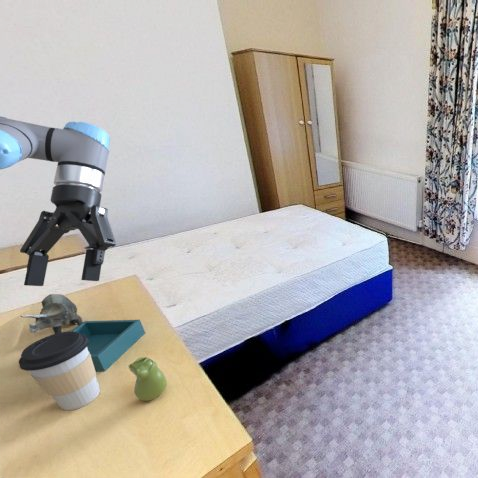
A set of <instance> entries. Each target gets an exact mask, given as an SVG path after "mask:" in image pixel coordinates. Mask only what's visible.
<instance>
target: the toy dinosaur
mask: <svg viewBox="0 0 478 478" xmlns="http://www.w3.org/2000/svg"><path fill="white" fill-rule="evenodd" d="M41 306H42V308H41V309H40V312H39V314H25V315H20V317H21V318H30V319H35V322H32V323H31V322H30V323H28V326H29V332H30V333H31V334H36V333H39V332H40V331H42V330H44V329H51V328H52V331H53V333H54V334H57V333H61V332H63V331H62V326H66V325H67V324H70V325H77V327H78V326H79V325H80V324H82V323H83V322H84V321H83V319H82V317H81V316H80V315H79V314H78V307H77V305H76V304H75V303H74V302H73V301H72V300H70V299H69V298H68V297H67V296H65V295H64V294H60V293H49V294H48V295H46V296H45V297H44V298H43V299H42V300H41Z"/></svg>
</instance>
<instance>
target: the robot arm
mask: <svg viewBox="0 0 478 478" xmlns="http://www.w3.org/2000/svg"><path fill="white" fill-rule="evenodd" d="M110 140H111V136H110V135H109V133H108V132H107V131H106V130H104V129H103V128H101V127H100V126H97V125H95V124H92V123H88V122H84V121H68V122H66V124H65V125H64V126H63V128H58V127H50V126H46V125H41V124H36V123H31V122H26V121H22V120H16V119H12V118H7V117H5V116H0V170H4V169H8V168H10V167H12V166H14V165H16V164H17V163H19V162H21V161H23V160H24V161H25V160H26V159H33V160H40V161H46V162H52V163H57V165H56V169H55V175H54V179H53V184H54V185H55V186H52V190H51V195H50V202H51V203H52V204H53V205H54V206H55V207H56V208H55V210H54V211H53V212H51V211H46V210H42V211H41V212H40V215H39V217H38V221H37V222H36V224H35V225H34V226H33V229H31V232H30V233H29V234H28V236H27V238H26V239H25V241H24V243H23V245H22V246H21V248H20V250H19V252H20V253H22V254H26V255H27V256H28V259H27V264H26V273H25V278H24V283H23V286H28V287H43V286H45V285H44V284H45V279H46V273H47V270H48V269H47V267H48V264H49V258H50V256H49V254H48V253H49V251H50V250H52V248H53V247H54V246H55V245H56V244H57V243H58V242H59V241H60V239H61V238H62V237H63V235H65V234H68V233H70V232H71V231H76V230H79V232H80V234H81V235H82V236H83V238H84V239H85V241H86V242H87V244H88V246H87V249H85V256H84V262H83V268H82V273H81V279H80V280H81V281H88V282H99V281H100V277H101V271H102V265H103V264H104V261H105V260H104V259H105V256H106V255H105V254H106V251H107V250H108V249H109V248H114V247H115V246H116V245H117V242H116V239H115V235H114V232H113V230H112V227H111V224H110V220H109V218H108V217H109V215H108V213H109V209H108V208H106V207H103V206H101V202H102V193H101V192H102V191H103V187H104V182H105V181H104V179H105V176H106V170H107V165H108V159H109V154H110Z"/></svg>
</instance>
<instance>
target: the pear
mask: <svg viewBox="0 0 478 478" xmlns="http://www.w3.org/2000/svg"><path fill="white" fill-rule="evenodd" d="M128 369H129V371H130V372H131V373H132V374H133V375H135V377H136V379H135V383H134V387H133V388H134V389H133V393H134V395H135V397H136V398H137V399H139V400H140V401H144V402H145V401H152V400H155V399H156V398H159V397H160V396H161V395H162V394H163V393H164V392H165V391H166V388H167V385H168V383H167V378H166V376H165V374H164V373H163V371H162V370H161V369H160V368H159V367H158V365H157V362H156V361H154V360H153V359H151V358H149V357H148V356H143V357H139V358H137V359H135V361H133V362H132V363H130V364H129V365H128Z"/></svg>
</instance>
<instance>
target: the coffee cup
mask: <svg viewBox="0 0 478 478" xmlns="http://www.w3.org/2000/svg"><path fill="white" fill-rule="evenodd" d="M88 344H89V339H88V338H87V337H86V336H85V335H82V334H79V333H77V332H73V331H72V330H71V331H69V330H68V331H62V332H61V333H57V334H51V335H48V336H45V337H43V338H40V339H38V340H36V341H35V342H33V343H31V344H30V345H28V346H26V347H25V348H24V349H23V350H22V352H21V354H20V357H19V359H18V367H19V368H20V369H21V370H23V371H28V372H29V373H30V376H31V377H32V378H33V380H34V381H35V382H36V383H37V385H38V386H40V387H41V389H42V390H43V391H44V393H46V394H47V395H48V396H50V397H51V398H52V399H53V400H54V401H55V403H56V405H57V404H58V406H59V407H60V408H61V409H62V410H64V411H74V410H78V409H81V408H83V407H86V406H87V405H89V404H90V403H92V402H93V401H94V400H95V399H96V398H97V397H98V396H99V394H100V393H101V389H100V386H99V385H100V384H99V382H98V378H97V376H96V375H97V372H96V371H95V368H94V365H93V361H92V358H91V355H90V352H89V351H88V349H87V346H88Z"/></svg>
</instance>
